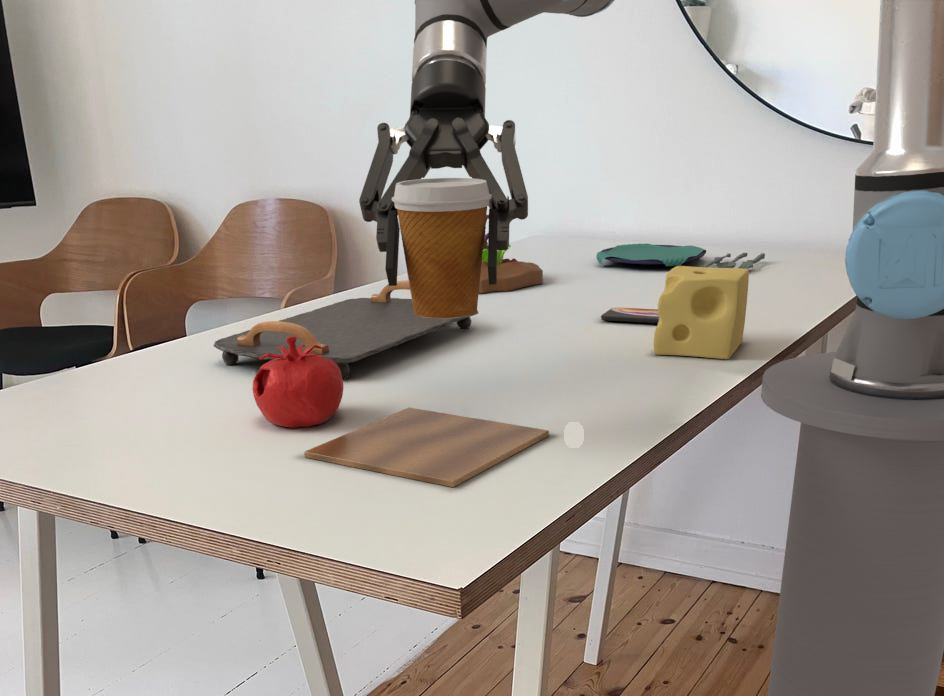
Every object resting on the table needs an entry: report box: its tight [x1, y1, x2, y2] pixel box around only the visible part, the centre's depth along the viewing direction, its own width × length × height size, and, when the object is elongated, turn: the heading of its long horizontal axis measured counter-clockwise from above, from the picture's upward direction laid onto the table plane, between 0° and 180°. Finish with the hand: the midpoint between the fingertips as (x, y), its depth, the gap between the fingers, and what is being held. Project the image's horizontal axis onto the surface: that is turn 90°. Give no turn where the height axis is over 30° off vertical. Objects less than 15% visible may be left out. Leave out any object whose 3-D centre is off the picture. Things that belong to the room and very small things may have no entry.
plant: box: [479, 214, 544, 294], centre depth 192 cm, size 20×20×11 cm
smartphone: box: [600, 307, 659, 324], centre depth 163 cm, size 8×1×15 cm
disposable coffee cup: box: [392, 177, 492, 319], centre depth 106 cm, size 10×10×12 cm
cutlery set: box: [596, 243, 766, 269], centre depth 205 cm, size 20×30×2 cm, turn 60°
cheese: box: [653, 265, 750, 360], centre depth 144 cm, size 10×11×10 cm
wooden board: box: [303, 407, 550, 488], centre depth 112 cm, size 18×18×1 cm
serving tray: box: [213, 280, 479, 381], centre depth 152 cm, size 39×23×6 cm, turn 150°
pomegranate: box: [252, 335, 344, 429], centre depth 120 cm, size 10×10×9 cm
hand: (441, 276), depth 104 cm, fingers closed on disposable coffee cup, 9 cm apart
